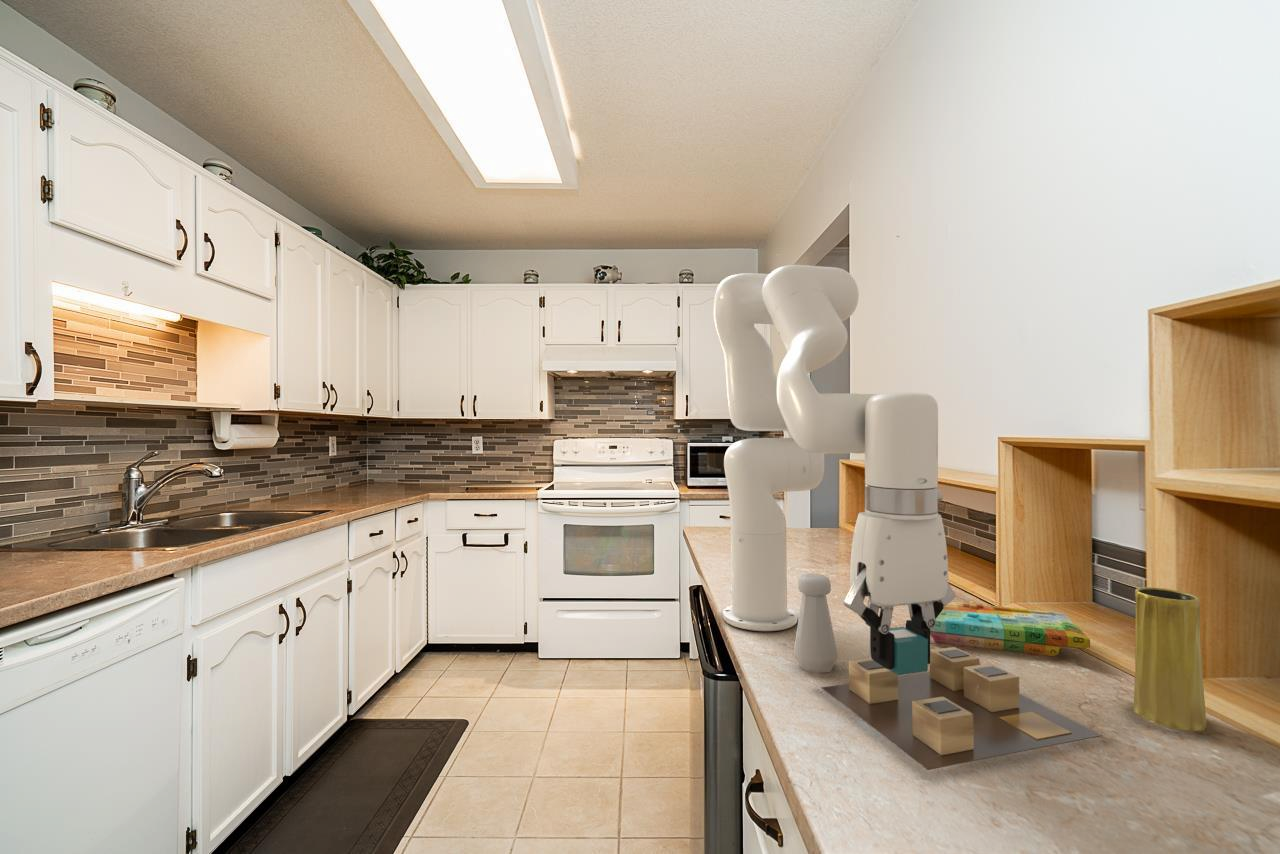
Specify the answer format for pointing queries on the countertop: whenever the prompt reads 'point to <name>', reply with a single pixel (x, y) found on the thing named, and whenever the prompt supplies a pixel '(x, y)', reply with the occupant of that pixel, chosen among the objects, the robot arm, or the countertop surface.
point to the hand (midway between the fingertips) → (900, 660)
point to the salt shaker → (815, 626)
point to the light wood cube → (872, 681)
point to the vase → (1168, 659)
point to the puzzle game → (1007, 629)
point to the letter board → (990, 729)
